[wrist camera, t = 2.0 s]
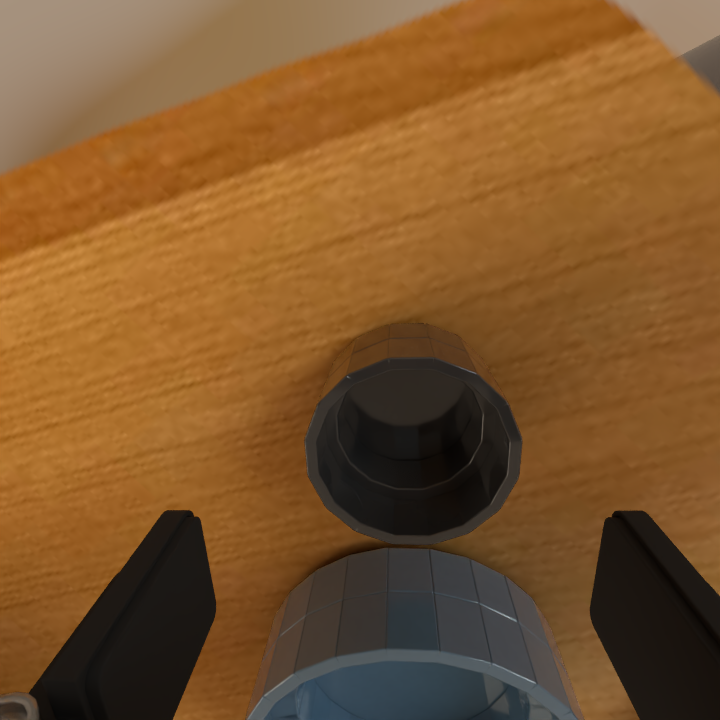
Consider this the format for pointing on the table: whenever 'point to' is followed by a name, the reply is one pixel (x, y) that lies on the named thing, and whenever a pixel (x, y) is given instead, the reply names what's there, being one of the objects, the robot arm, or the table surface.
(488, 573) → the blue bowl
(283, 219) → the table surface
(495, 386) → the black bowl
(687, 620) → the robot arm
